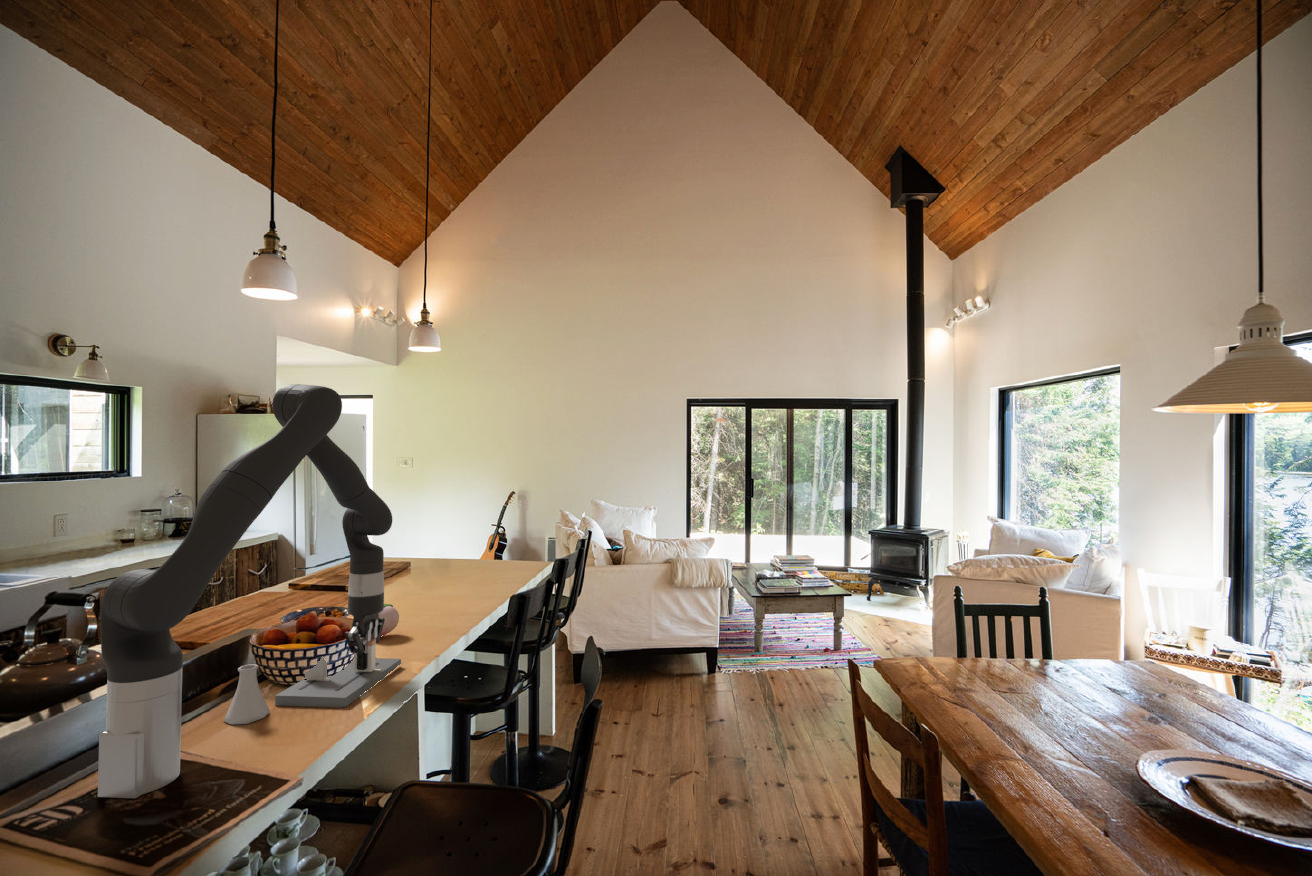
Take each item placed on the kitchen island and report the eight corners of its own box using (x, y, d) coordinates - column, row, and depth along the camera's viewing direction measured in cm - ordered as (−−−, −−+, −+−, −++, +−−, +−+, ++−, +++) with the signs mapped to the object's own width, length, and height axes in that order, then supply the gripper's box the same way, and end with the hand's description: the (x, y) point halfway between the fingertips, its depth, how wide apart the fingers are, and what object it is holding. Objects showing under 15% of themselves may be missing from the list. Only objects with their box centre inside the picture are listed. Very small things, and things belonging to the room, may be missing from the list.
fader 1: (322, 680, 135) (322, 648, 135) (304, 679, 135) (305, 648, 135) (327, 676, 137) (328, 646, 137) (309, 676, 137) (310, 645, 137)
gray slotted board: (345, 707, 126) (345, 697, 126) (275, 705, 127) (275, 695, 127) (400, 667, 150) (401, 658, 150) (341, 665, 151) (341, 656, 151)
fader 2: (371, 671, 140) (371, 641, 140) (353, 671, 140) (354, 641, 140) (375, 669, 142) (376, 639, 142) (358, 668, 142) (358, 638, 142)
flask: (247, 727, 117) (248, 674, 117) (215, 724, 118) (216, 671, 119) (277, 712, 124) (278, 662, 124) (247, 708, 125) (248, 659, 126)
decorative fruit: (387, 643, 169) (388, 606, 169) (359, 642, 170) (360, 605, 170) (405, 633, 178) (405, 598, 179) (378, 632, 179) (379, 597, 179)
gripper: (366, 598, 135) (364, 679, 134) (396, 585, 148) (395, 658, 148) (333, 598, 135) (331, 678, 135) (366, 584, 149) (365, 657, 148)
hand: (364, 667), depth 141 cm, fingers closed on fader 2, 2 cm apart
